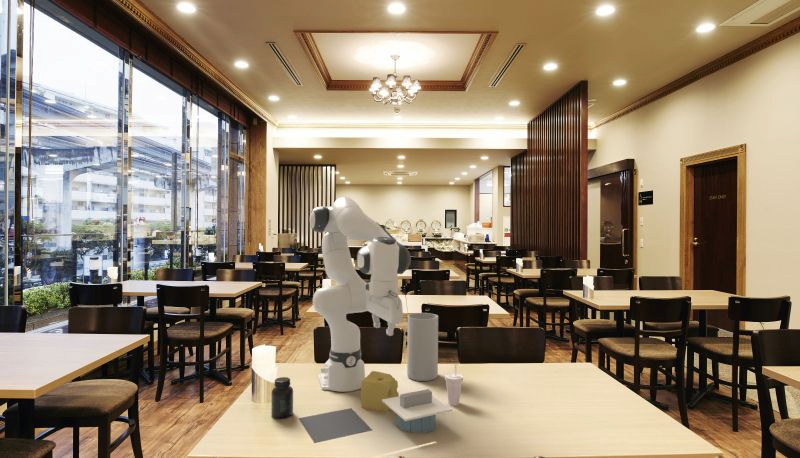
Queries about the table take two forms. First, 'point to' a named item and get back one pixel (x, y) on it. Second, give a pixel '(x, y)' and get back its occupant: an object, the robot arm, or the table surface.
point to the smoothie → (453, 387)
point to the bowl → (417, 424)
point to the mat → (334, 425)
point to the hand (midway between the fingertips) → (383, 331)
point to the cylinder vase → (422, 346)
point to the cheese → (378, 390)
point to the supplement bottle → (282, 399)
